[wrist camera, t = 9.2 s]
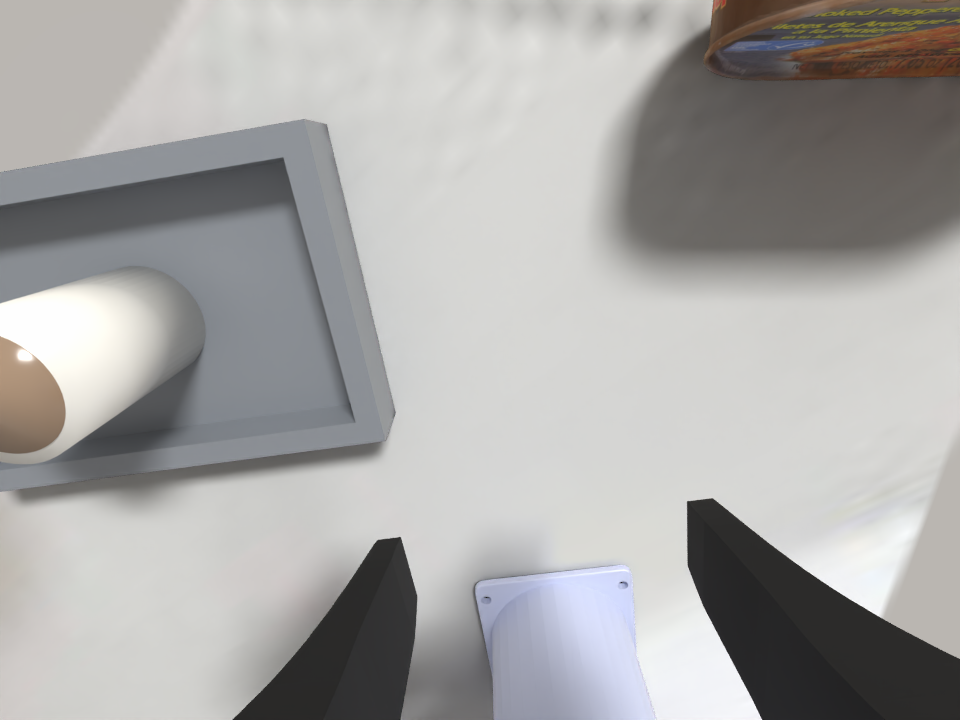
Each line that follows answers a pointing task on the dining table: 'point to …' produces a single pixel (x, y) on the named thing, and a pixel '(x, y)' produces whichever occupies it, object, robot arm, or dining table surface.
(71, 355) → the cup
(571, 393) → the dining table surface
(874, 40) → the tin
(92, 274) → the tray
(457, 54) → the dining table surface
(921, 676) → the robot arm
